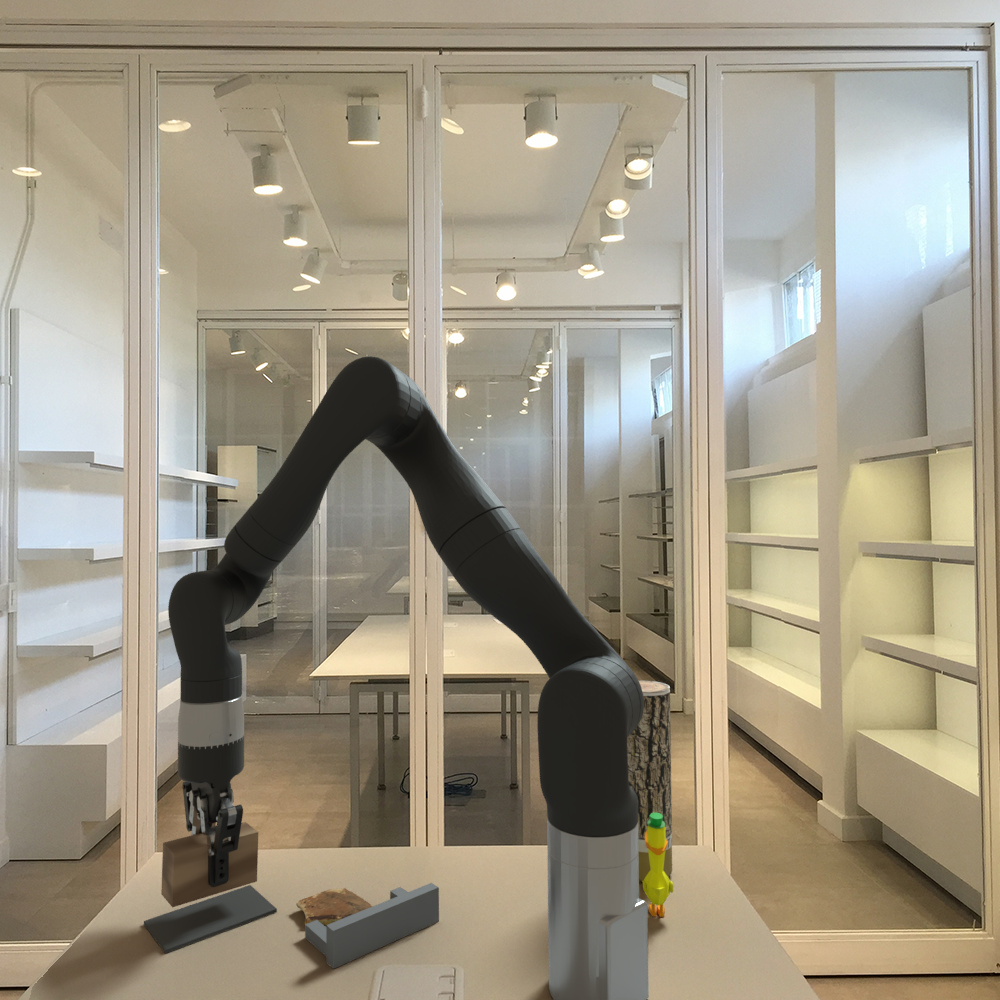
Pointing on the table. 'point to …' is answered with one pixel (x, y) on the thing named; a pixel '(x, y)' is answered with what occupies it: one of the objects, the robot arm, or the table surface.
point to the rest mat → (208, 918)
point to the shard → (331, 906)
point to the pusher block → (205, 867)
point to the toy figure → (656, 865)
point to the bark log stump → (652, 768)
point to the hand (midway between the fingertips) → (211, 876)
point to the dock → (375, 925)
